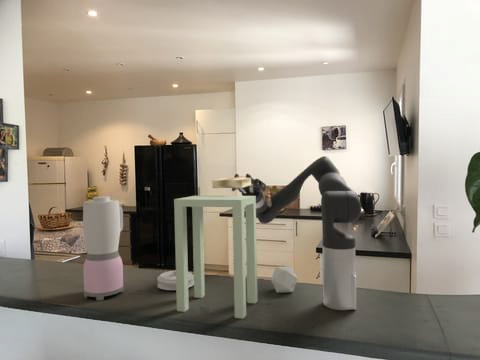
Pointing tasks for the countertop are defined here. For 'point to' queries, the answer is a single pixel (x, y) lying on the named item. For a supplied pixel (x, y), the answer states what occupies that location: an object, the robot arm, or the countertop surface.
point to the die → (284, 279)
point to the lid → (172, 280)
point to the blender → (102, 247)
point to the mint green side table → (198, 248)
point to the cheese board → (232, 182)
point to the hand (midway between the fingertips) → (241, 176)
